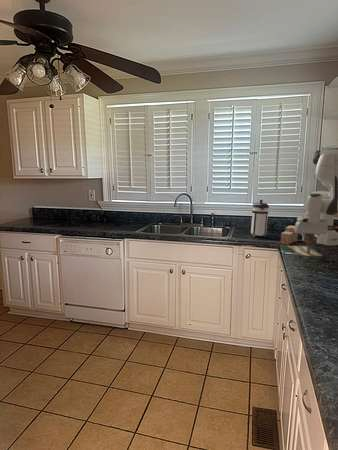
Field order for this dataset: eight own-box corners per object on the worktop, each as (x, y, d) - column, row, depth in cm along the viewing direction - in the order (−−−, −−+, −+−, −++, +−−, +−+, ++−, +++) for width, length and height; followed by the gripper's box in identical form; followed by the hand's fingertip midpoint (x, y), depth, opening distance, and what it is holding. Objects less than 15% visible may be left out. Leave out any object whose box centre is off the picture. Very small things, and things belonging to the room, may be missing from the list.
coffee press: (272, 236, 253) (275, 200, 247) (259, 238, 244) (262, 201, 238) (255, 232, 267) (258, 198, 261) (242, 234, 258) (245, 198, 252)
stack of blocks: (288, 246, 222) (290, 230, 220) (279, 245, 226) (281, 228, 224) (297, 241, 239) (299, 226, 237) (288, 240, 243) (290, 225, 240)
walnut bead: (311, 241, 203) (312, 235, 202) (316, 243, 197) (317, 237, 196) (302, 240, 203) (303, 234, 202) (306, 243, 197) (307, 236, 196)
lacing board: (306, 248, 219) (307, 236, 218) (323, 258, 196) (324, 245, 194) (286, 247, 219) (287, 236, 217) (301, 257, 195) (302, 244, 194)
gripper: (325, 218, 200) (323, 239, 203) (294, 217, 200) (292, 238, 202) (331, 220, 194) (328, 242, 196) (298, 219, 194) (296, 241, 196)
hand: (309, 240), depth 199 cm, fingers closed on walnut bead, 6 cm apart
